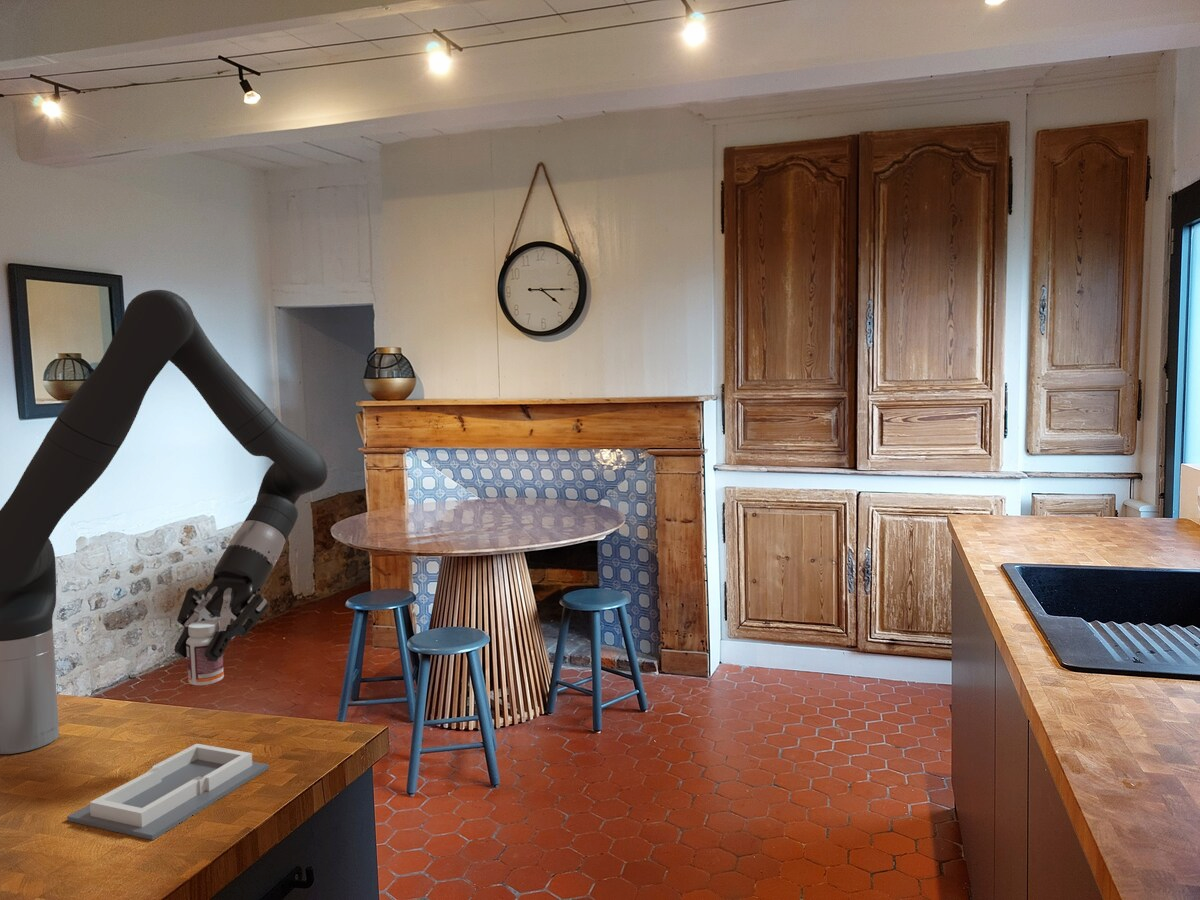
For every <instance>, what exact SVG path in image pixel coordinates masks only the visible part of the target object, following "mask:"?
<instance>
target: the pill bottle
mask: <svg viewBox="0 0 1200 900" xmlns="http://www.w3.org/2000/svg"><path fill="white" fill-rule="evenodd" d="M219 627H220V624H219V621H218V620H205V621H201V620H198V621H197V622H194V623H191V624H190V625H189V626H188V633H189V636H190V637H189V638H188V639H187V641H186V649H187V657H186V662H187V663H186V664H187V678H188V680H187V681H188V683H189V684H191V685H193V686H194V685H195V686H206V685H207V686H208V685H212V684H214V683H218V682H219V681H220V682H221V681H222V680H223V679H224V677H225V672H224V671H225V670H224V653H223V654H222V655H221V657H220V658H218V660H217V661H210V660H209V659H208V658H206V657H205V651H206V649H207V648H208V646H209V644H210V642H211V640H212V639H213V637H214V635H215V633H216V632H220V630H219Z"/></svg>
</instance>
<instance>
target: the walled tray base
mask: <svg viewBox="0 0 1200 900" xmlns="http://www.w3.org/2000/svg"><path fill="white" fill-rule="evenodd" d="M269 766H270V764H267V763H264V762H257V761H253V753H252V752H247V751H242V750H235V749H232V748H231V749H230V748H224V747H218V746H212V745H208V744H203V743H201V744H200V743H195V744H193V745H191V746H189V747H187V748H185V749H183V750H182V751H179V752H178V753H176V754H174V755H172V756H170V757H167V758H166V759H164V760H162V761H160V762H157V763H155V765H153V766H151V767H150V769H149V770H147V772H145V773H143V774H141V775H139V776H137V777H136V778H134V779H131V780H130V781H128V782H126V783H124V784H122V785H120V786H118V787H116V788H114V789H112V790H110V791H108V792H107V793H105V794H103V795H101V796H99V797H97V798H96V799H93V800H91V801H89V804H87V805H86V806H84V807H82V808H80V809H78V810H76V811H74V812H73V813H70V814H69V815H66V817H67V821H68V822H71V823H76V824H81V825H84V826H88V827H93V828H98V829H100V830H101V829H102V830H106V831H111V832H115V833H120V834H122V835H123V834H124V835H127V836H133V837H138V838H141V839H146V840H149V841H154V840H156V839H157V838H159V837H160V836H162V835H164V834H165V833H167V832H168V830H169V831H171V830H172V829H173V828H176V827H177V826H178V825H180V824H182V823H183V822H185V821H186V820H188V819H189V817H190V818H192V817H193V816H194V815H196V814H198V813H200V812H201V811H202V810H204V809H206V808H207V807H209V806H211V805H213V804H214V803H215V802H217V801H218V799H219V800H220V799H222V798H224V797H225V796H227V795H228V794H230V793H232V792H234V791H235V790H237V789H238V788H241V786H243V785H244V784H246V783H248V782H249V781H251V780H253V779H254V778H257V777H258V776H259V775H261V774H262V773H265V771H268V770H269V769H270V767H269ZM223 796H224V797H223ZM192 815H193V816H192ZM181 822H182V823H181ZM179 823H180V824H179ZM176 825H177V826H176ZM166 831H167V832H166ZM163 833H164V834H163ZM155 838H156V839H155Z"/></svg>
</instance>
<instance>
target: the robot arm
mask: <svg viewBox="0 0 1200 900" xmlns="http://www.w3.org/2000/svg"><path fill="white" fill-rule="evenodd" d="M169 361H170V362H171V364H173V365H174V366H175V367H176V368H177V369H178V370H179V371H180V372H181V373H182V374H183V375H184V376H185V377H186V378H187V380H189V382H190V383H191V385H193V387H194V388H195V389H196V390H197V392H199V394H200V396H201V397H202V398H203V400H204V401H205V403H206V404H207V406H208V407H209V409H211V412H213V413H214V415H215V416H216V418H217V419H218V420H219V421H220V423H221V424H222V425H223V427H224V428H226V430H227V431H228V432H229V434H231V435H232V437H234V439H236V441H237V443H239V444H240V445H241V446H242V447H243V449H245V450H246V452H247V453H249V454H250V455H252V456H254V457H266V458H268V459H269V460H271V461H272V462H273V463H272V464H271V465H270V466H269V467H268V469H267V471H266V472H265V474H264V476H263V478H262V481H261V483H260V486H259V490H258V492H257V496H256V501H255V503H254V504H253V505H252V507H251V509H250V510H249V512H248V514H247V516H246V517H245V520H244V522H243V523H242V524H241V526H240V527H238V529H237V530H236V532H235V533H234V535H233V536H232V538H231V540H230V541H229V544H228V545H227V547H226V548H225V550H224V552H223V553H222V555H221V557H220V558H219V560H218V561H217V564H216V566H215V567H214V570H213V578H212V581H211V582H210V583H209V584H207V586H206V587H204V589H198V590H197V589H196V588H195V587H193V586H191V587H189V588H188V589H187V590H186V593H185V596H184V599H183V602H182V604H181V607H180V610H179V613H178V616H177V619H176V621H177V623H179V624H180V625H181V626H183V627H184V628H183V631H182V632H181V634H180V637H179V638H178V640H177V642H175V643H176V644H175V645H174V653H175V654H177V655H178V656H179V657H180V658H187V649H186V641H187V639H188V638H189V637H190V636H189V633H188V626H189V625H190V624H191V623H194V622H198V621H205V620H215V621H217V619H218V618H220V619H221V620H220V624H219V632H216V633H215V635H214V637H213V639H212V640H211V642H210V644H209V646H208V648H207V649H206V651H205V657H206V658H208V659H209V660H210V661H217V660H218V658H220V657H221V655H222V654H223V655H224V652H225V650H226V649H227V647H228V644H229V643H230V641H231V640H232V639H234V638H235V637H237V636H240V637H245V636H247V634H248V633H250V631H251V630H252V629H253V627H254V625H255V624H256V623H257V622H258V621H259V619H260V618H261V617H262V615H263V614H264V613H265V611H266V610H267V609H268V608H269V606H270V603H269V601H267V599H266V598H265V597H263V596H262V594H260V593H261V592H262V590H263V588H264V586H265V585H266V582H267V580H268V579H269V577H270V575H271V573H272V571H273V570H274V567H275V566H276V564H277V561H278V560H279V558H280V556H281V555H282V551H283V549H284V545H285V543H286V541H287V540H288V538H289V536H290V534H291V532H292V530H293V529H294V527H295V525H296V522H297V520H298V515H299V513H298V511H299V510H298V508H297V507H296V502H297V501H298V499H299V498H300V497H301V496H302V495H306V494H308V493H310V492H313V491H316V490H318V489H319V488H321V487H323V485H324V484H325V483H326V480H327V479H328V467H327V463H326V462H325V460H324V458H323V456H322V454H320V452H319V451H318V450H317V449H316V448H315V447H313V445H311V444H310V443H309V442H308V441H306V440H305V439H303V438H302V437H300V436H299V435H298V434H297V433H295V432H294V431H292V430H291V429H289V428H287V427H286V426H285V425H284V424H283V423H282V422H281V421H280V420H279V419H278V417H277V416H276V415H275V414H274V413H273V412H272V410H271V409H270V408H269V407H268V406H267V404H266V403H265V402H264V401H263V400H262V399H261V398H260V397H259V396H258V394H256V392H254V391H253V389H252V388H251V387H250V386H249V385H248V384H247V383H246V382H245V381H244V379H242V378H241V377H240V376H239V374H237V372H236V371H235V370H234V369H233V368H232V366H231V365H229V363H228V362H227V361H226V360H225V358H223V356H222V354H220V353H219V351H218V350H217V348H216V347H215V346H214V344H213V343H212V342H211V341H210V339H209V337H208V336H207V335H206V333H205V332H204V330H203V327H202V326H201V325H200V323H199V322H198V320H197V319H196V316H195V314H194V311H193V309H192V308H191V306H190V304H189V303H188V302H187V301H186V300H185V299H184V298H183V297H182V296H180V295H179V294H177V293H175V292H173V291H171V290H170V291H169V290H166V289H152V290H146V291H144V292H141V293H139V294H138V295H136V296H135V297H133V299H131V300H130V302H129V303H128V304H127V307H126V309H125V311H124V313H123V316H122V318H121V320H120V322H119V324H118V327H117V329H116V331H115V332H114V335H113V337H112V339H111V340H110V343H109V345H108V347H107V348H106V351H105V353H104V354H103V357H102V358H101V360H100V361H99V362H98V364H97V365H96V367H95V368H94V369H93V371H92V372H91V373H90V374H89V376H87V378H86V379H85V380H84V381H83V382H82V383H81V385H80V386H79V387H78V388H77V390H76V391H75V392H74V393H73V394H72V396H71V397H70V398H69V401H67V403H66V404H65V406H64V407H63V409H62V410H61V411H60V413H59V415H57V417H56V419H55V420H54V421H53V423H52V425H51V427H50V428H49V430H48V432H47V433H46V435H45V436H44V438H43V440H42V442H41V444H40V445H39V447H38V449H37V450H36V452H35V454H34V455H33V457H32V458H31V460H30V461H29V463H28V465H27V467H26V468H25V469H24V472H23V473H22V475H21V477H20V479H19V481H18V483H17V484H16V486H15V488H14V490H13V491H12V493H11V494H10V496H9V498H8V499H7V500H6V502H5V503H4V504H3V506H2V507H1V508H0V755H11V754H18V753H19V754H20V753H24V752H25V753H26V752H29V751H33V750H36V749H39V748H42V747H44V746H47V745H49V744H50V743H53V742H54V741H56V739H58V737H59V736H60V727H59V726H60V725H59V708H58V706H59V705H58V692H57V691H58V690H57V689H58V688H57V678H56V677H57V675H56V673H57V672H56V659H55V658H56V657H55V645H54V644H55V643H54V640H55V639H54V627H53V626H54V625H53V615H54V613H55V609H56V604H57V572H56V571H57V570H56V569H57V568H56V556H55V555H56V554H55V550H54V546H53V543H52V541H51V539H50V537H51V535H52V534H53V532H54V530H55V529H56V526H57V525H58V524H59V522H60V521H61V519H62V518H63V516H65V515H66V513H67V512H68V511H69V510H70V509H71V508H72V507H73V506H74V505H75V504H76V503H78V501H79V500H80V499H81V498H82V497H83V496H84V495H85V494H86V493H87V491H89V489H90V488H92V486H93V485H94V484H95V483H96V482H97V481H98V479H100V477H101V476H102V475H103V474H104V472H105V471H106V470H107V468H108V467H109V465H110V464H111V462H112V460H113V459H114V457H115V455H117V452H118V451H119V450H120V448H121V446H122V445H123V443H124V442H125V440H126V437H127V436H128V434H129V432H130V430H131V428H132V426H133V424H134V422H135V420H136V418H137V415H138V414H139V412H140V411H139V410H140V409H141V405H143V404H142V403H143V401H144V398H145V396H146V394H147V392H148V390H149V388H150V387H151V385H152V383H153V382H154V381H155V379H156V378H157V376H159V374H160V373H161V371H162V370H163V368H164V367H165V366H166V365H167V364H168V363H169ZM206 611H207V612H208V613H209V614H208V613H206ZM200 619H201V620H200Z"/></svg>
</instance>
